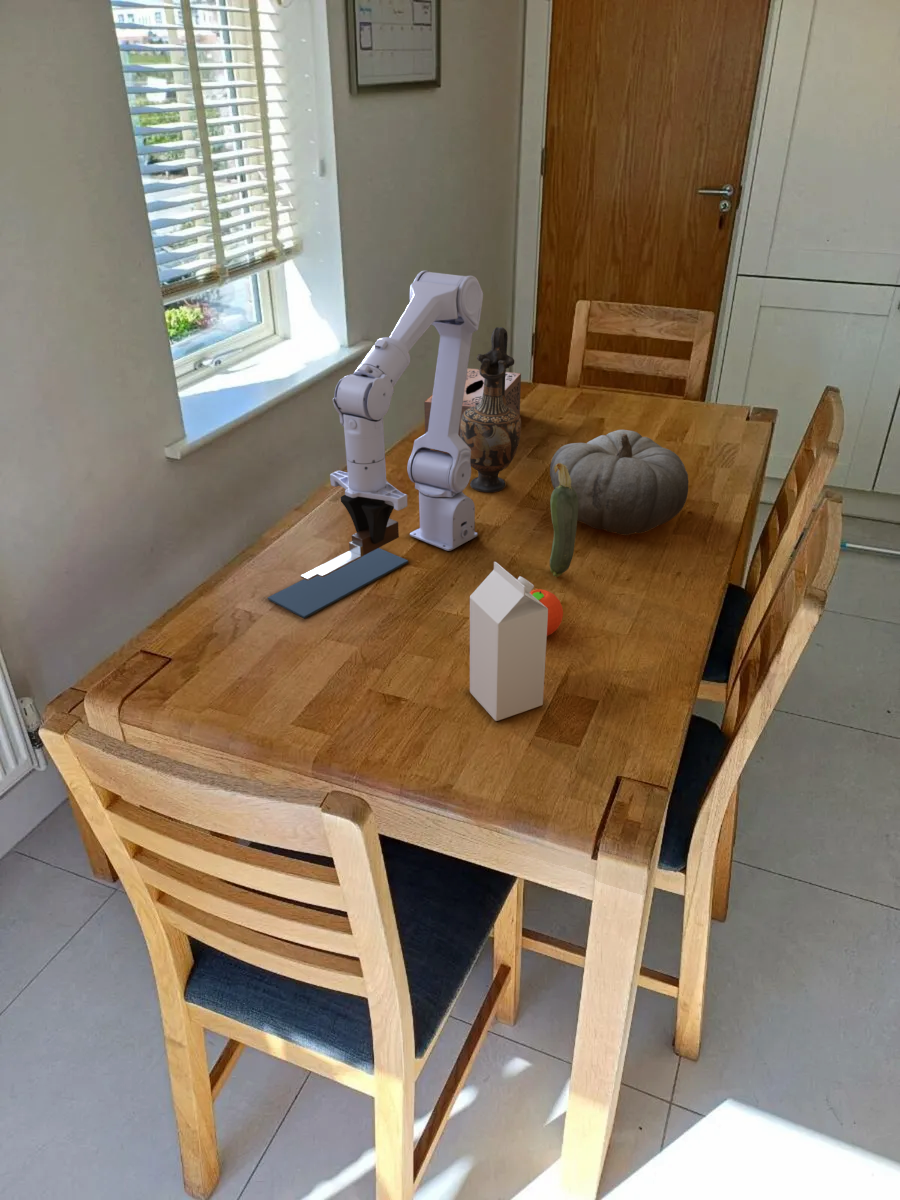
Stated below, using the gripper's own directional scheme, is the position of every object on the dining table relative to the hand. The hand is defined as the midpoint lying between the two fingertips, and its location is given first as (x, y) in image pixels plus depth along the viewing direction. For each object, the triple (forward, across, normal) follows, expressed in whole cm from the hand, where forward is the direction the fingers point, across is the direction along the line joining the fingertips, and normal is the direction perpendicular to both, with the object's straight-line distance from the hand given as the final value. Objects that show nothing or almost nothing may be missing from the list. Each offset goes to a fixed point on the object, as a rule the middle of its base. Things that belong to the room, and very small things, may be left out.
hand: (371, 538), depth 137 cm
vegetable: (+9, +22, +21) cm, 31 cm away
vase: (+9, -10, +43) cm, 45 cm away
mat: (+8, -5, -2) cm, 10 cm away
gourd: (+9, +17, +46) cm, 50 cm away
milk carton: (+9, +35, -10) cm, 37 cm away
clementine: (+9, +29, +5) cm, 30 cm away
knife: (+1, 0, -4) cm, 5 cm away
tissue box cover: (+9, -32, +65) cm, 73 cm away
